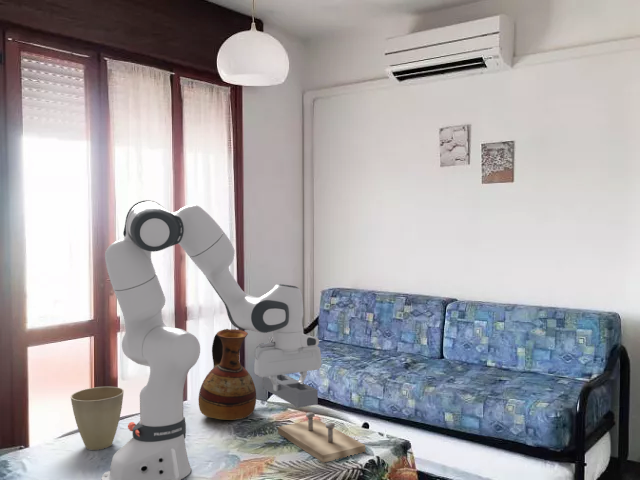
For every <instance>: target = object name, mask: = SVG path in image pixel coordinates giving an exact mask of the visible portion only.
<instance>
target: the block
mask: <svg viewBox="0 0 640 480" xmlns="http://www.w3.org/2000/svg"><path fill="white" fill-rule="evenodd" d="M275 380H276V382H277V383H278V384H280V390H279V391H274V390H273V383H272V382H271V380H270V378H269V377H262V389H263V390H265V391H267V392H269V393H271V394H273V395H274V396H276V397H278V398H280V399H281V400H284V401H285V402H287V403H289V404H291V405H293V406H295V407H296V408H304V407H305V408H306V407H311V406H316V405H318V401H319V399H318V395H319V393H318V391H319V389H317V388H315V387H313V386H310V385H308V384H306V383H305V382H304V383H302V382H300V381H298V380H299V379H295V378H293V377H291V376H289V375H288V374H283V375H277V379H275Z"/></svg>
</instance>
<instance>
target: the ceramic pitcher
mask: <svg viewBox="0 0 640 480" xmlns="http://www.w3.org/2000/svg"><path fill="white" fill-rule="evenodd" d="M248 335H249V334H248V332H247V331H244V330H243V329H238V328H234V329H233V328H231V329H228V328H226V329H225V328H224V329H220V330H219V331H217V332H216V334H214V337H213V340H212V346H211V355H212V356H211V357H212V363H213V367H212V369H211V370H210V371H209V372H208V374H206V376H205V378H204V379H203V381H202V383H201V386H200V389H199V392H198V393H199V394H198V408H199V411H200V413H201V414H202V415H203V416H205V417H207V418H210V419H216V420H220V421H223V420H224V421H225V420H226V421H235V420H243V419H245V418H247V417H249V416H250V415H252V414H253V413H254V411H255V409H256V404H257V391H256V386H255V383H254V380H253V378H252V376H251V374H250V373H249V371H248V370H247V369H246V368H245V367H244V366H243V365H241V361H240V353H241V347H242V344H243V342H244V340H245V338H247V336H248Z"/></svg>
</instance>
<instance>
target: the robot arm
mask: <svg viewBox="0 0 640 480" xmlns="http://www.w3.org/2000/svg"><path fill="white" fill-rule="evenodd" d="M123 236H124V237H123V238H121V239H119V240H116V241H114V242H112V243H111V244H110V245H109V246H108V247H107V248H106V250H105V252H104V253H105V254H104V258H105V265H106V271H107V274H108V277H109V281H110V283H111V286H112V288H113V292H114V293H115V297H116V299H117V301H118V305H119V307H120V310H121V314H122V317H123V321H124V328H125V331H124V335H123V336H122V341H121V348H122V352H123V354H124V355H125V357H127V358H128V359H130V361H132V362H133V363H136V364H138V365H140V366H145V367H148V368H149V371H150V372H149V377H148V381H147V383H146V385H144V387H143V388H142V389H141V390H140V392H139V420H140V421H138V422H137V423H135V422H133V421H130V422H129V423H128V424H127V429H128V430H129V431H130V432H132V438H130V440H128V441H127V442H126V443H125V444H124V445H123V446H122V447H120V449H118V450H116V452H115V453H114V454H113V455H112V458H111V463H110V470H108V471H105V472H104V473H103V474H102V476H101V478H100V479H101V480H182V479H184V478H185V477H187V476H188V475H190V473H191V472H192V468H191V464H190V461H189V457H188V452H187V448H186V447H187V446H186V437H187V436H186V434H187V423H186V417H185V416H184V391H185V389H184V388H185V383H186V379H187V377H188V373H189V371H191V369H192V368H193V367H194V366H195V365H196V364H197V362H198V361H199V358H200V354H201V345H200V341H199V339H198V338H197V337H196V336H195V335H194V334H193V333H190V332H189V331H186V330H184V329H183V328H177V327H173V326H172V327H171V326H167V325H166V324H165V323H164V321H163V316H162V313H163V312H162V309H163V308H164V307H165V305H166V297H165V293H164V292H163V288H162V286H161V284H160V279H159V278H158V275H157V272H156V270H155V267H154V264H153V261H152V252H154V253H155V252H159V251H160V252H161V251H163V250H165V249H168V248H170V247H173V246H175V245H179V246H180V247H181V248H182V249H183V251H184V252H185V253H186V255H187V256H188V257H189V258H190V259H191V260H192V262H193V264H194V265H196V267H197V268H198V269H199V270H200V272H202V274H203V275H204V276H205V278H206V279H207V281H208V282H209V284H210V286H211V287H212V288H213V290H214V291H215V293H217V296H218V297H219V298H220V299H221V302H222V303H223V305H224V307H225V310H226V314H227V316H228V320H229V322H230V323H231V325H232V326H233V327H235V329H237V330H243V331H244V330H246V331H251V332H257V333H260V334H266V333H267V334H268V333H271V332H272V341H270V342H267V343H264V342H263V343H262V342H261V343H259V344H258V345H257V346H256V347H255V349H254V358H255V359H254V365H253V366H254V367H253V370H254V371H253V372H254V374H255V375H256V376H257V377H259V378H263V377H269V378H270V380H271V382H272V383H273V390H274V391H279V390H280V384H278V383H277V382H276V380H275V379H277V375H283V374H285V375H289V374H295V373H299V379H297V380H298V381H300V382H302V383H304V384H305V382H304V381H305V380H306V378H307V376H308V372H309V371H317V370H319V369H320V368H321V366H322V353H321V348H320V347H319V344H320V339H319V338H318V337H316V336H313V335H312V336H311V335H310V334H306V333H304V327H303V318H304V302H303V295H302V294H303V293H302V291H301V289H300V288H299V287H298V286H296V285H290V284H282V283H280V284H279V283H277V284H274V287H273V288H272V289H271V290H269V291H268V292H267V293H265V294H263V295H261V296H259V297H258V296H253V295H252V294H248V293H247V292H245V291H243V289H242V287H240V285H239V283H238V281H237V280H236V279H235V277H234V276H233V275H232V272H231V271H230V268H229V267H230V266H231V265H232V263H233V261H234V260H235V259H234V258H235V248H234V246H233V243H232V242H231V240H230V238H229V237H228V235H227V234H226V233H225V231H224V230H223V229H222V228H221V226H220V225H219V224H218V223H217V221H215V219H214V218H213V217H212V216H211V215H210V214H209V213H208V212H206V211H205V210H204V209H203V208H202V207H201V206H199V205H196V204H189V205H185V206H183V207H181V208H180V209H179V210H177V211H173V212H172V211H169V210H168V209H166V208H165V207H164V206H163V205H161V204H160V203H158V202H156V201H154V200H149V199H148V200H147V199H146V200H140V201H138V202H136V203H135V204H133V205H132V206H131V207H130V208H129V210H128V212H127V214H126V217H125V223H124V229H123Z"/></svg>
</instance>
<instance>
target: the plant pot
mask: <svg viewBox="0 0 640 480" xmlns="http://www.w3.org/2000/svg"><path fill="white" fill-rule="evenodd" d="M123 399H124V389H123V388H121V387H117V386H96V387H91V388H84V389H81V390H78V391H75V392H74V393H72V394H71V395H70V401H71V406H72V411H73V416H74V419H75V423H76V427H77V429H78V432H79V435H80V437H81V440H82V442H83V444H84V446H85V448H86V449H87V450H89V449H90V451H98V450H99V449H100V450H104V448H105V449H107V448H110V447H111V446H112V445H113V443H114V440H115V437H116V433H117V431H118V430H117V429H118V426H119V423H120V418H121V412H122V408H123V402H124V401H123Z"/></svg>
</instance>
